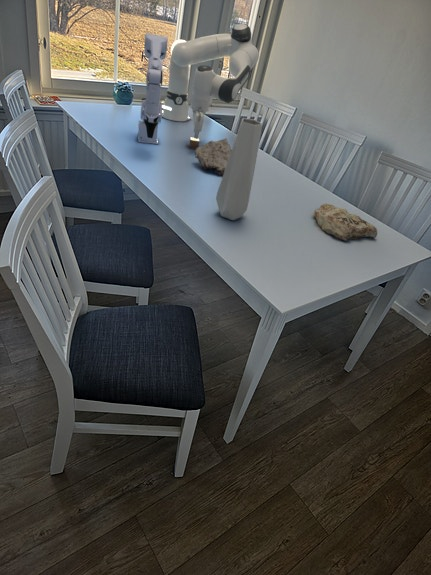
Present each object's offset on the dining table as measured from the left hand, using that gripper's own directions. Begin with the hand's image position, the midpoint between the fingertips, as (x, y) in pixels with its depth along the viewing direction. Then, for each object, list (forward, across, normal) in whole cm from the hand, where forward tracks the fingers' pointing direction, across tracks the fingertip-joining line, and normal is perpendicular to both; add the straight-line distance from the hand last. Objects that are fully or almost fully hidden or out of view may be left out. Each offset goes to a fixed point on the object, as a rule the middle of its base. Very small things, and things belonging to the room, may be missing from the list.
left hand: (150, 134), depth 165 cm
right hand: (+3, +20, -21) cm, 29 cm away
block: (+9, +20, -21) cm, 30 cm away
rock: (+9, -7, -29) cm, 31 cm away
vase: (+9, -49, -33) cm, 60 cm away
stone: (+9, -46, -76) cm, 89 cm away
